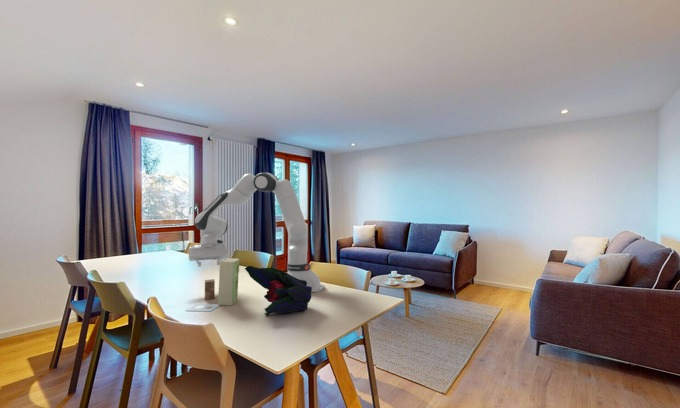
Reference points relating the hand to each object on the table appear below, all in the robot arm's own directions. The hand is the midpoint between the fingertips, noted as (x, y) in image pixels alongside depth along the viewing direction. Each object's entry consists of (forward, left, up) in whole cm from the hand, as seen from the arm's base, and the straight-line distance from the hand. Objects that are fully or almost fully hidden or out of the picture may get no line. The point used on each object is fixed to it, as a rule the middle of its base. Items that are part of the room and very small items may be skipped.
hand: (209, 265), depth 163 cm
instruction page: (-15, +22, -15) cm, 30 cm away
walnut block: (-8, +9, -15) cm, 19 cm away
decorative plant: (-51, +18, -15) cm, 56 cm away
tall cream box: (-22, +13, -15) cm, 29 cm away
